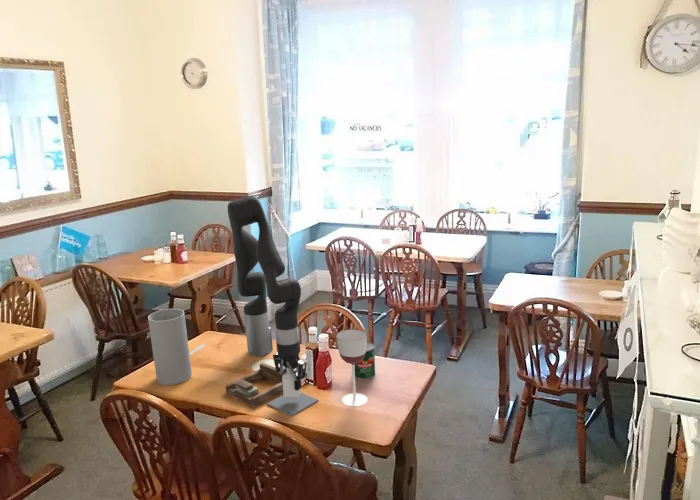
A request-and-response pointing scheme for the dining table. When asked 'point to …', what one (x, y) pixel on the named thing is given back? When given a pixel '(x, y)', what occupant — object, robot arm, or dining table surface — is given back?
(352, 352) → the wineglass
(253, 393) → the offcut stack
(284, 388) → the eye dropper bottle
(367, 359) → the canned tomato
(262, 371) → the frame
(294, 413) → the grey rubber mat
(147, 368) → the dining table surface
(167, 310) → the cylinder vase
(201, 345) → the butter knife
